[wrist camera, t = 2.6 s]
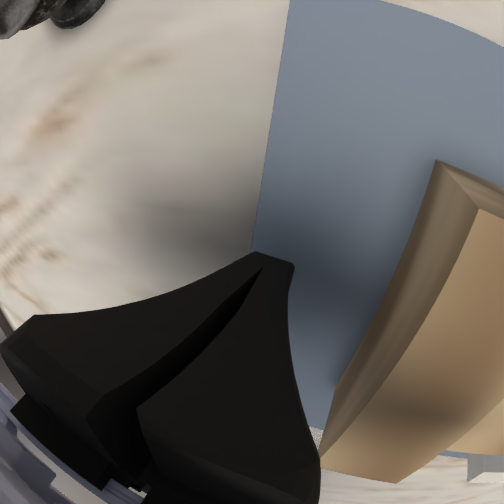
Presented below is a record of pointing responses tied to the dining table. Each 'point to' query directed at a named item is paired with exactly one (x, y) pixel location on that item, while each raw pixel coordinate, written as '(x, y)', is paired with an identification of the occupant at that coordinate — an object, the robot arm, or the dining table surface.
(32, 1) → the salt shaker
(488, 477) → the dock
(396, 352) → the t block
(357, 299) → the board
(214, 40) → the dining table surface
